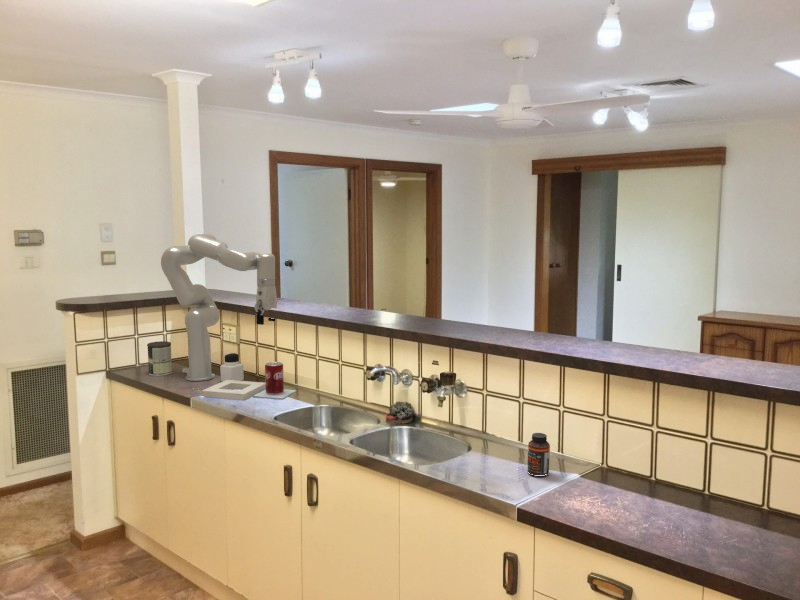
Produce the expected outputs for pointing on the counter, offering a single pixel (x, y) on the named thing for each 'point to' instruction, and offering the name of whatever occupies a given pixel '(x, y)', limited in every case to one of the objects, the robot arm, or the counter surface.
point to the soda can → (274, 378)
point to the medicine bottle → (232, 368)
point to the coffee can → (159, 358)
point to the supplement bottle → (538, 454)
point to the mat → (279, 396)
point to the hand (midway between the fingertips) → (266, 322)
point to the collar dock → (244, 393)
